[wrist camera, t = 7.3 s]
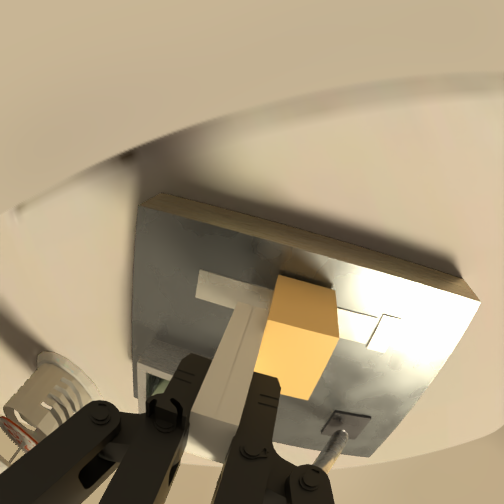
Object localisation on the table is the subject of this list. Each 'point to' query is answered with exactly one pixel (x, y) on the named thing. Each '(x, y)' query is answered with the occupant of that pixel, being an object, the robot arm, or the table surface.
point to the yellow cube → (298, 335)
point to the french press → (46, 401)
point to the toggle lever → (331, 450)
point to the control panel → (259, 294)
